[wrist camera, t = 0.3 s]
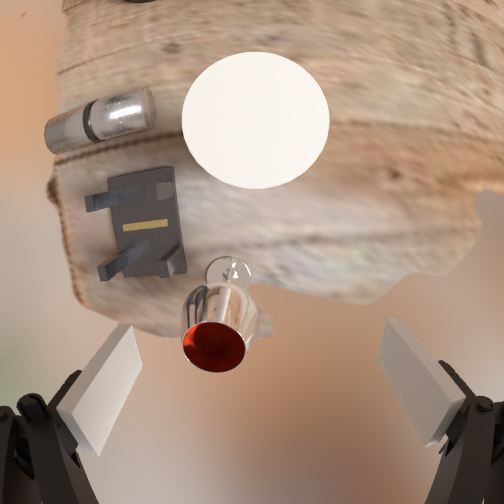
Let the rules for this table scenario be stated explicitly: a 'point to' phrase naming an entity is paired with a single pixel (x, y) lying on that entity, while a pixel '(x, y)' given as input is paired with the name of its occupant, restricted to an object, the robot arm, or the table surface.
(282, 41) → the table surface
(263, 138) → the cylindrical container
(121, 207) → the rail
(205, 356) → the wineglass
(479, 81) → the table surface
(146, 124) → the tube
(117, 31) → the table surface
